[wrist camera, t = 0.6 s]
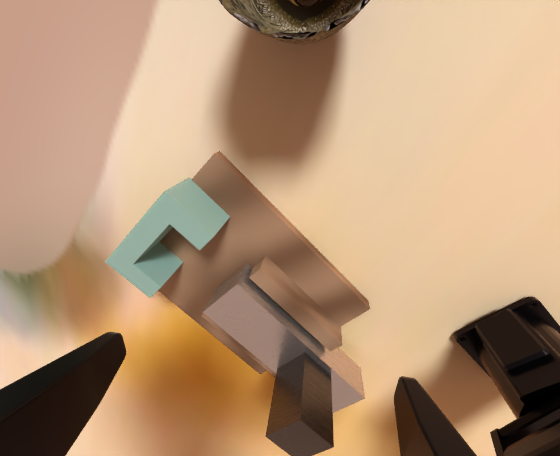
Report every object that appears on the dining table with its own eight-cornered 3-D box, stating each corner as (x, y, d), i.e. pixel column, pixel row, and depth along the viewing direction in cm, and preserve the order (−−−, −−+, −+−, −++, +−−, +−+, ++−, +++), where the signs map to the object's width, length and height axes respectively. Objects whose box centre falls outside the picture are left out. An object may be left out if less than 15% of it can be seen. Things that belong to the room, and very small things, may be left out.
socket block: (230, 216, 21) (213, 237, 18) (173, 271, 24) (149, 297, 20) (189, 177, 20) (164, 191, 17) (135, 239, 23) (105, 261, 20)
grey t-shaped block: (360, 368, 25) (376, 473, 18) (326, 385, 26) (327, 489, 19) (247, 263, 22) (211, 339, 15) (215, 289, 23) (169, 370, 16)
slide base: (368, 300, 23) (374, 326, 20) (262, 365, 28) (255, 393, 25) (219, 151, 20) (203, 158, 17) (128, 254, 25) (104, 272, 22)
